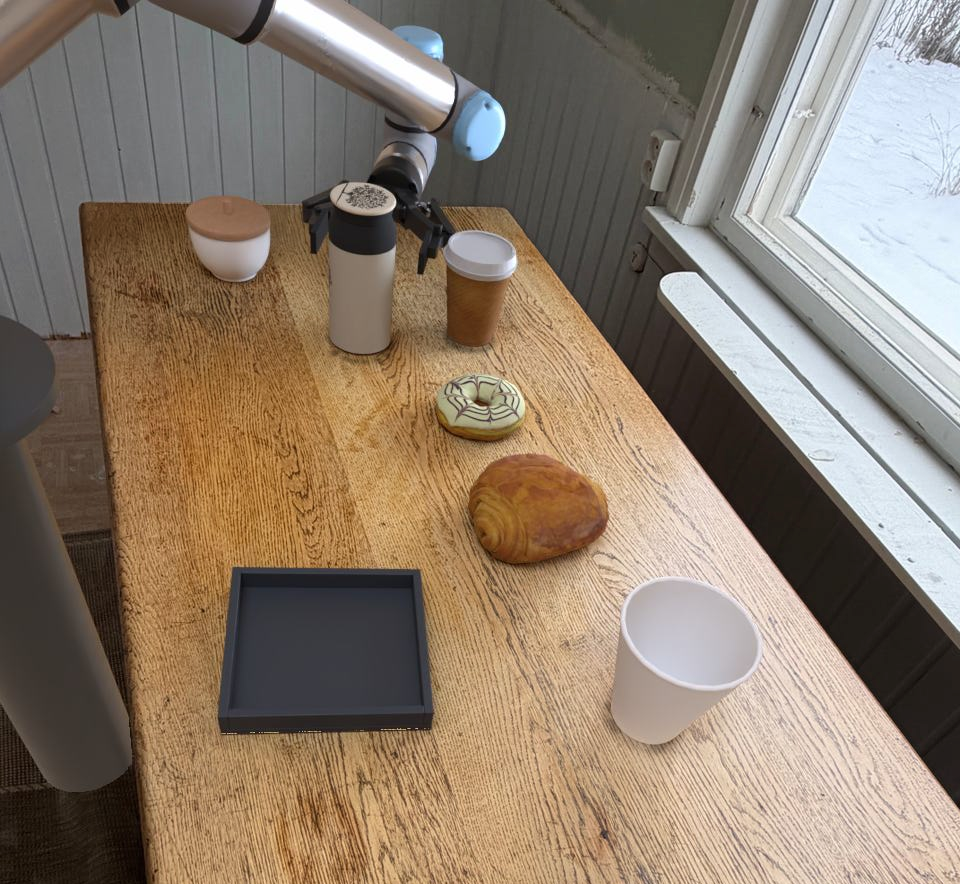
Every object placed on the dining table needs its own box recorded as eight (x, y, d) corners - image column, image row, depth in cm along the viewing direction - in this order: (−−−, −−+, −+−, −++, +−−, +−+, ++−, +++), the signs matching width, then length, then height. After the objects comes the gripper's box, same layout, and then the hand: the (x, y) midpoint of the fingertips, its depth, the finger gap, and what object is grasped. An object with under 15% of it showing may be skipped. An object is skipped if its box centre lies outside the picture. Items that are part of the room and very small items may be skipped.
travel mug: (398, 332, 108) (407, 192, 94) (377, 362, 103) (384, 219, 89) (343, 316, 109) (343, 174, 95) (319, 345, 104) (316, 200, 90)
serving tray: (221, 735, 67) (217, 717, 65) (235, 586, 77) (232, 566, 75) (430, 730, 70) (433, 712, 68) (418, 587, 80) (420, 568, 78)
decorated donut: (427, 394, 100) (430, 367, 97) (509, 393, 103) (514, 367, 100) (443, 447, 94) (446, 421, 91) (530, 444, 97) (536, 418, 94)
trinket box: (177, 265, 111) (166, 194, 103) (240, 244, 117) (234, 175, 109) (227, 299, 107) (219, 228, 100) (289, 276, 113) (286, 207, 106)
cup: (568, 739, 72) (604, 655, 62) (601, 645, 79) (638, 557, 69) (696, 789, 70) (753, 711, 61) (718, 688, 78) (772, 604, 68)
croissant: (615, 565, 89) (645, 511, 83) (495, 586, 82) (520, 528, 76) (553, 479, 96) (577, 424, 90) (438, 491, 89) (456, 432, 83)
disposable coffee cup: (518, 338, 111) (534, 252, 102) (471, 361, 106) (484, 273, 97) (468, 307, 114) (479, 221, 105) (420, 328, 109) (428, 240, 100)
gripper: (479, 227, 117) (461, 300, 104) (309, 194, 116) (269, 264, 103) (487, 172, 111) (469, 242, 98) (308, 137, 110) (265, 203, 97)
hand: (367, 253), depth 100 cm, fingers open, 13 cm apart
